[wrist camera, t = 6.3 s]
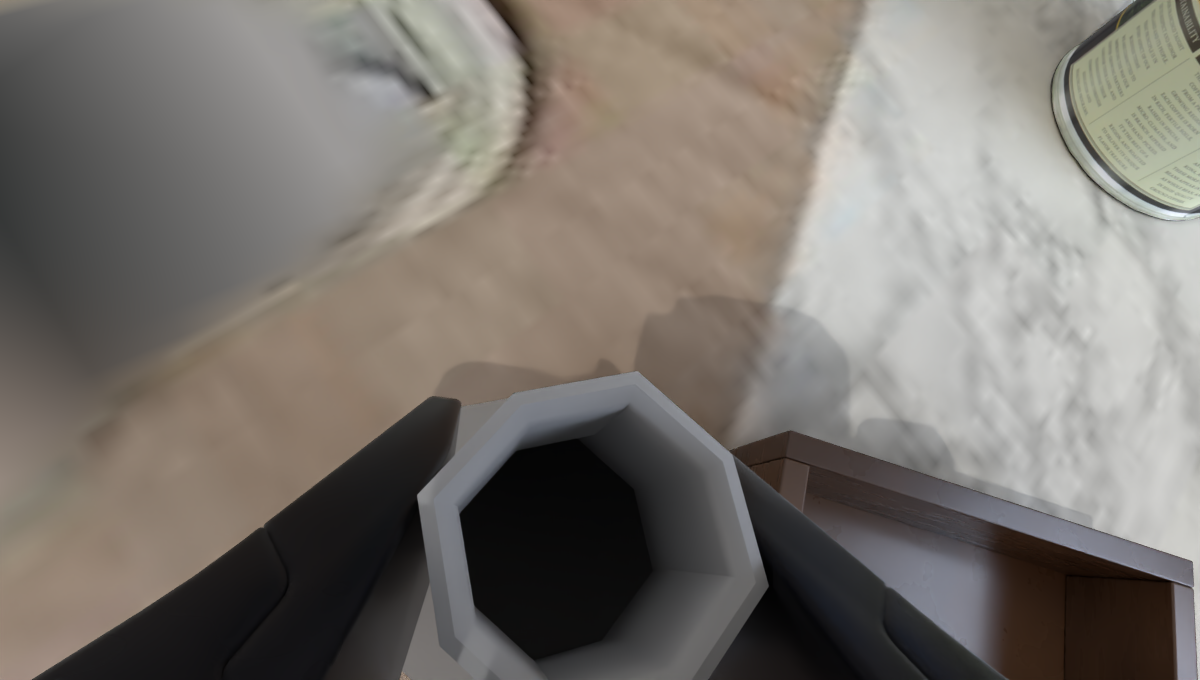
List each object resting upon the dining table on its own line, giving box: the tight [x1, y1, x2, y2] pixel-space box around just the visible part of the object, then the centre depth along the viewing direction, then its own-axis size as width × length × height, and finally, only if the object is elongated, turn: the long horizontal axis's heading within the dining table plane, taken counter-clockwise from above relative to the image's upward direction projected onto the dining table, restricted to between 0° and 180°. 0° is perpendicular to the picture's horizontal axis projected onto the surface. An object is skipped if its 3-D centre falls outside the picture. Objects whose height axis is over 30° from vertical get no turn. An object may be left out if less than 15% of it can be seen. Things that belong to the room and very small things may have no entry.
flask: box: [402, 371, 769, 680], centre depth 11 cm, size 7×7×10 cm
